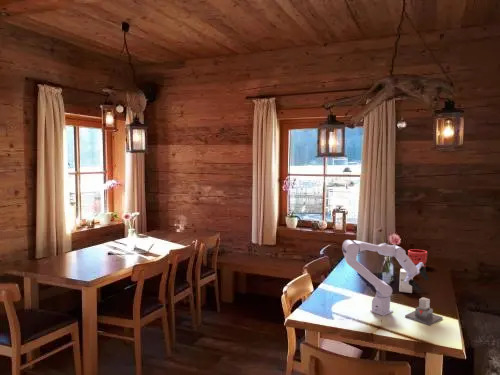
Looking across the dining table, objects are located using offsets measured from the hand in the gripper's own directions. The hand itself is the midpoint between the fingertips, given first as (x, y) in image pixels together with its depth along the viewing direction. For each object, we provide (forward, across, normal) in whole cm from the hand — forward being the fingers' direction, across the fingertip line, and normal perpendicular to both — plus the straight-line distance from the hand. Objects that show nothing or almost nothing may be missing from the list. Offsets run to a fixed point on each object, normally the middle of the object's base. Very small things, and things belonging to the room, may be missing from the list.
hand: (423, 284), depth 218 cm
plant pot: (+33, +46, +72) cm, 92 cm away
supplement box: (+14, +6, +32) cm, 36 cm away
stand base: (+9, -14, -4) cm, 17 cm away
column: (+8, -13, -5) cm, 16 cm away
